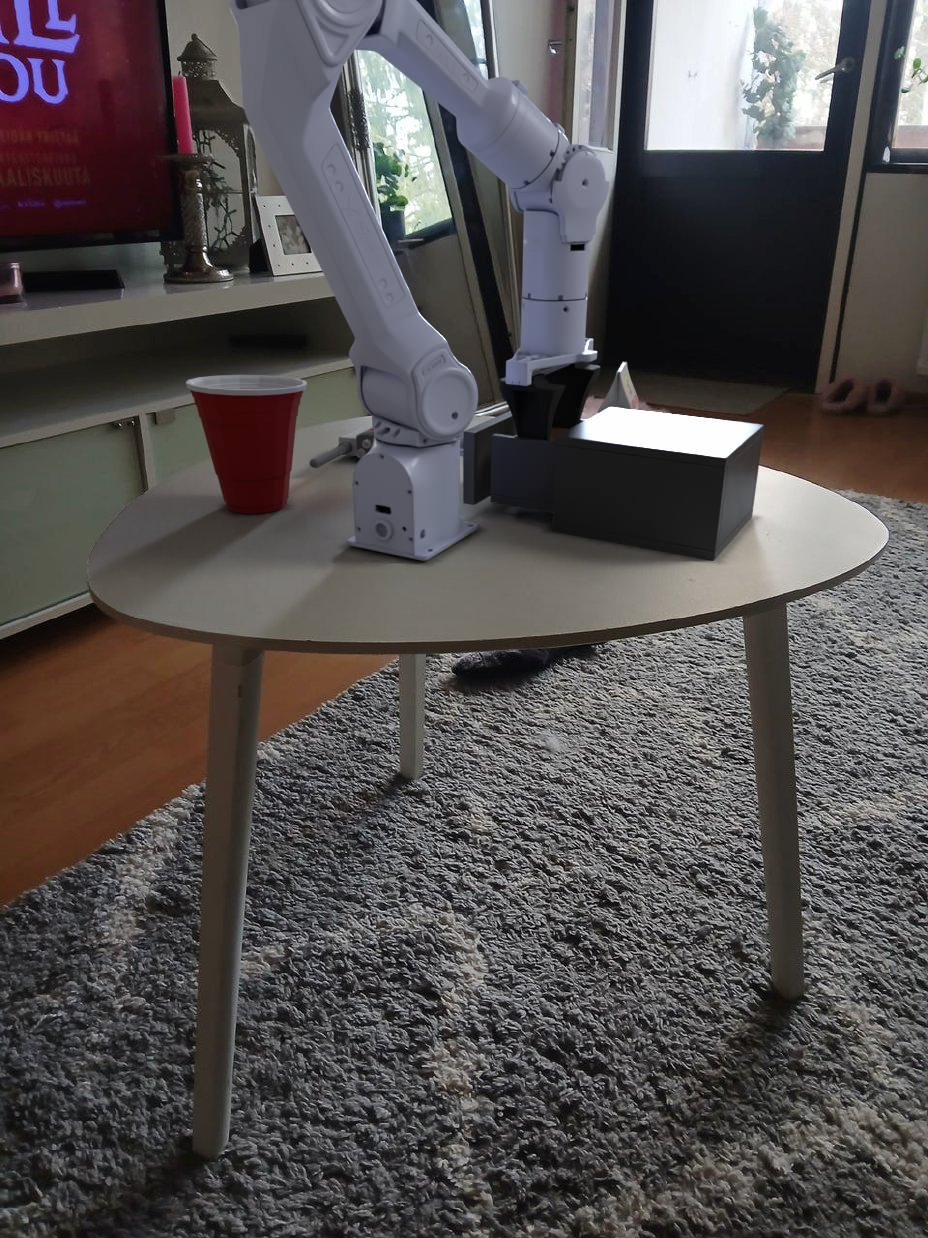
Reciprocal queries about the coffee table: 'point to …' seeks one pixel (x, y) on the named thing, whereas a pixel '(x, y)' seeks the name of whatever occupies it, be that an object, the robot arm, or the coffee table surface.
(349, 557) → the coffee table surface
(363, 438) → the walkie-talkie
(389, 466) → the robot arm
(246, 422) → the plastic cup
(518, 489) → the drawer
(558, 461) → the cabinet
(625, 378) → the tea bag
